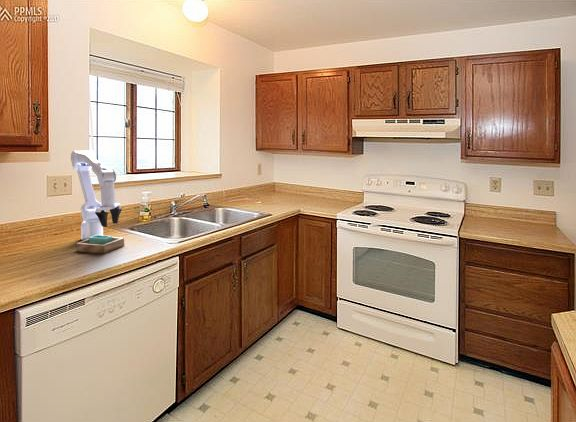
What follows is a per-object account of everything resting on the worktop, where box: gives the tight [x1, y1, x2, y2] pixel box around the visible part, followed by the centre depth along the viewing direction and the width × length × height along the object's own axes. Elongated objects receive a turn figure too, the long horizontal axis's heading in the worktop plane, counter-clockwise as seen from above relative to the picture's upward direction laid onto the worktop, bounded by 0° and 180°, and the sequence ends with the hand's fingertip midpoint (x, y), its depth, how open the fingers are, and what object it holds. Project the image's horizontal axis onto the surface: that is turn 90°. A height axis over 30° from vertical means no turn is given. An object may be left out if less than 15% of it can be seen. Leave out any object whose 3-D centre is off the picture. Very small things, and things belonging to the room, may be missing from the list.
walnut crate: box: [75, 236, 125, 254], centre depth 174 cm, size 14×14×4 cm
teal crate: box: [89, 234, 113, 245], centre depth 174 cm, size 8×5×4 cm, turn 78°
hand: (109, 224), depth 180 cm, fingers open, 7 cm apart
